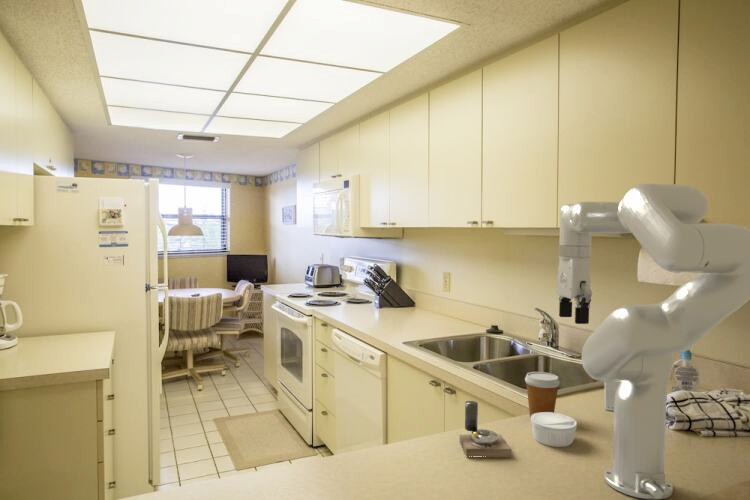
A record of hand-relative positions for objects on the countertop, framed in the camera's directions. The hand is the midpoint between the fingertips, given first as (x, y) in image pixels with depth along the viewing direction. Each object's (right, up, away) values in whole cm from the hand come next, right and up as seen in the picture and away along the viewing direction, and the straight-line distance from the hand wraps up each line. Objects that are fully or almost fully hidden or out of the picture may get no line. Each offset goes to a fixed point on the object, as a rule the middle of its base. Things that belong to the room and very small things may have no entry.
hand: (573, 320), depth 127 cm
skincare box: (+22, -30, +24) cm, 45 cm away
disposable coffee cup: (-3, -30, +15) cm, 34 cm away
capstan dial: (-25, -28, -6) cm, 38 cm away
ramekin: (-5, -31, 0) cm, 31 cm away
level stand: (-24, -30, -7) cm, 39 cm away
